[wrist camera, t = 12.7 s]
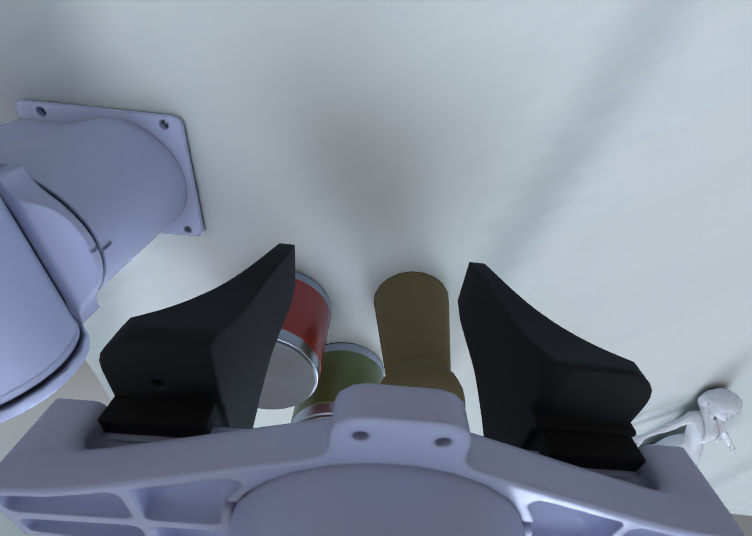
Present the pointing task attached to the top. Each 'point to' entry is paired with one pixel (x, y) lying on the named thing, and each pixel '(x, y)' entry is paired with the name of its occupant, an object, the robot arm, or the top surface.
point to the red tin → (298, 348)
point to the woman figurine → (700, 423)
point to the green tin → (338, 379)
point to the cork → (415, 332)
